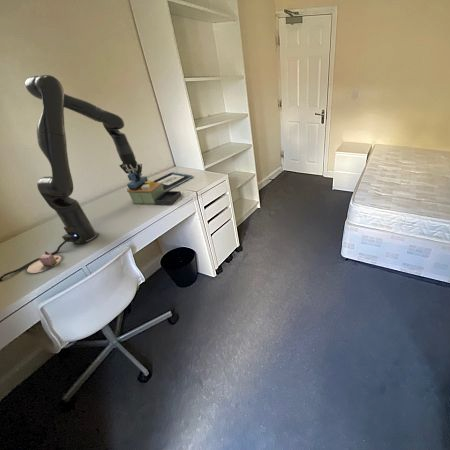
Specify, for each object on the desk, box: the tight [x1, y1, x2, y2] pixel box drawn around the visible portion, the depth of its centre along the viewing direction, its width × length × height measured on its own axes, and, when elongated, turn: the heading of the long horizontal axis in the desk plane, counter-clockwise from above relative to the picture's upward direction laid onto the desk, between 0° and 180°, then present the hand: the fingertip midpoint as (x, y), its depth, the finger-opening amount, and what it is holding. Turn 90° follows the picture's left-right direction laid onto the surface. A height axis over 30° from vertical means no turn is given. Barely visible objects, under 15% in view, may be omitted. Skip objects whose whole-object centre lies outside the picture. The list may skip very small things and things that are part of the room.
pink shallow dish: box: [26, 251, 62, 275], centre depth 114 cm, size 12×12×4 cm
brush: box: [126, 171, 149, 190], centre depth 159 cm, size 12×5×9 cm, turn 174°
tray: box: [154, 190, 182, 206], centre depth 164 cm, size 13×10×3 cm
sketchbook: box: [153, 171, 194, 191], centre depth 188 cm, size 22×30×2 cm
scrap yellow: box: [144, 179, 155, 186], centre depth 163 cm, size 4×4×2 cm
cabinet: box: [126, 182, 165, 205], centre depth 163 cm, size 13×16×9 cm
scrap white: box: [141, 184, 151, 190], centre depth 158 cm, size 4×4×2 cm
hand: (136, 179), depth 159 cm, fingers closed on brush, 2 cm apart
